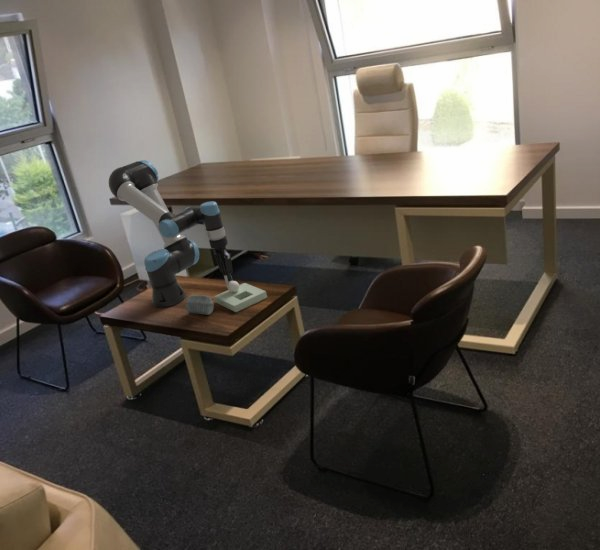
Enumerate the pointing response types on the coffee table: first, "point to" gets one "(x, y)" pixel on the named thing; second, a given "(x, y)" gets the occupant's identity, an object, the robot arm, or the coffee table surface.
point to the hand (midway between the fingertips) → (230, 287)
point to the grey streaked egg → (199, 304)
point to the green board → (241, 297)
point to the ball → (233, 286)
